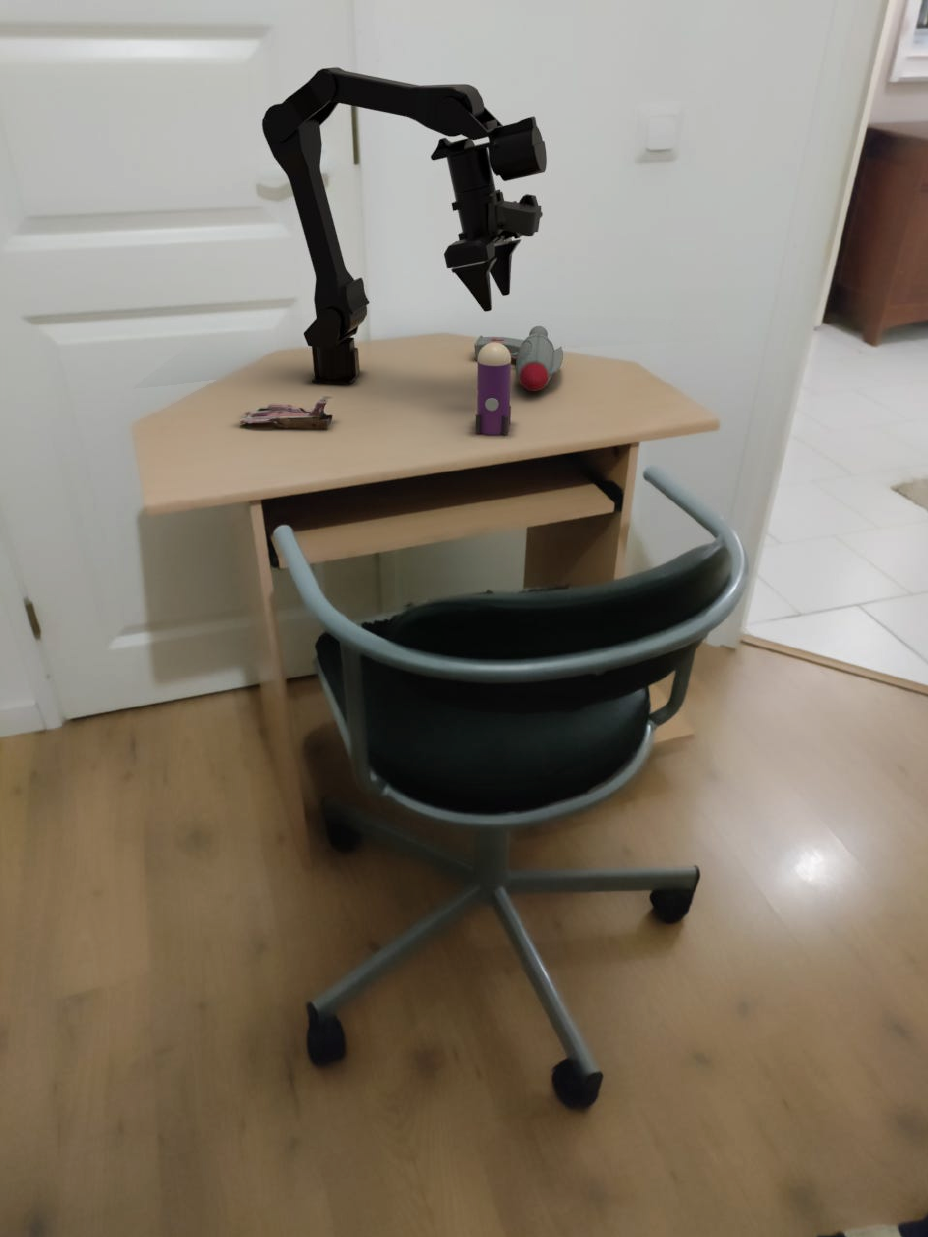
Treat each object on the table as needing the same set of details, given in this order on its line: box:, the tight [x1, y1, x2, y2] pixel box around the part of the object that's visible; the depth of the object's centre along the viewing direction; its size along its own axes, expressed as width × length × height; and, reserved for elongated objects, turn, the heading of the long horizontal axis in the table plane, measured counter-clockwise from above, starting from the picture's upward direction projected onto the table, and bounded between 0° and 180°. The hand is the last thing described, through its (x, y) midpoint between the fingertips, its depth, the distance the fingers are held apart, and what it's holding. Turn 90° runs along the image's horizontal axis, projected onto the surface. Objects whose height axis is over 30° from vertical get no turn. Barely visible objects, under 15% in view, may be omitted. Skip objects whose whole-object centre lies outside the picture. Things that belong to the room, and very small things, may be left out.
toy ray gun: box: [473, 325, 564, 392], centre depth 147 cm, size 6×25×15 cm
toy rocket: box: [475, 342, 512, 436], centre depth 125 cm, size 5×5×12 cm
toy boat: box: [239, 395, 333, 430], centre depth 130 cm, size 13×6×4 cm, turn 84°
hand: (497, 302), depth 132 cm, fingers open, 9 cm apart
